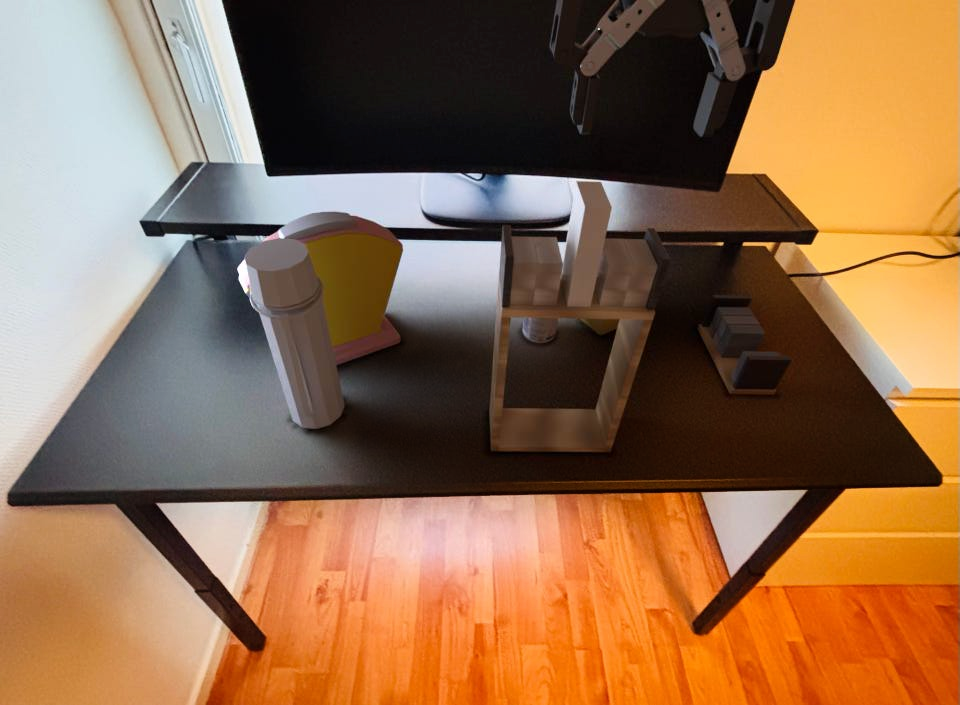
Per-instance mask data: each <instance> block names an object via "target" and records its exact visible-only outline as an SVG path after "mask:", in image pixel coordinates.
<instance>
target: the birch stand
mask: <svg viewBox="0 0 960 705" xmlns="http://www.w3.org/2000/svg"><path fill="white" fill-rule="evenodd" d="M495 310H496V312H495V325H494V340H493V353H492V354H493V355H492V356H493V357H492V370H491V385H490V399H489V436H490V437H489V438H490V439H489V440H490V452H549V453H550V452H551V453H553V452H556V453H559V452H560V453H561V452H562V453H563V452H564V453H565V452H566V453H567V452H568V453H569V452H570V453H611V452H612V448H613V445H614V443H615V439H616V436H617V433H618V430H619V427H620V423H621V420H622V418H623V415H624V411H625V408H626V405H627V402H628V398H629V395H630V393H631V389H632V387H633V383H634V381H635V380H634V379H635V377H636V374H637V370H638V367H639V364H640V361H641V359H642V356H643V353H644V349H645V346H646V342H647V339H648V336H649V334H650V331H651V327H652V324H653V320H654V319H653V320H634V319H620V320H619V324H618V328H617V329H616V332H615V336H614V340H613V343H612V347H611V351H610V354H609V358H608V362H607V365H606V369H605V373H604V377H603V380H602V384H601V388H600V392H599V396H598V399H597V403H596V405H595V406H596V407H595V408H530V407H529V408H527V407H526V408H524V407H523V408H522V407H521V408H519V407H517V408H515V407H513V408H512V407H511V408H510V407H504V398H505V387H506V377H507V376H506V375H507V367H508V366H507V364H508V352H509V342H510V332H511V321H512V317H501V308H500V294H499V280H498V281H497V296H496V309H495Z"/></svg>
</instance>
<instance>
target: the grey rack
mask: <svg viewBox="0 0 960 705" xmlns="http://www.w3.org/2000/svg"><path fill="white" fill-rule="evenodd" d="M751 301H752V296H751V295H746V294H745V295H743V294H742V295H739V294H737V295H735V294H731V295H730V294H712V296H711V299H710V301H709V303H708V306H707V309H706V311H705V314H704V316H703V319H702V321H701V323H699V324H698V327H697V331H698V332H699V335H700V336H701V339H702V341H703V343H704V345H705V347H706V349H707V351H708V353H709V355H710V357H711V359H712V361H713V362H714V365H715V367H716V370H717V371H718V373H719V375H720V377H721V379H722V381H723V383H724V385H725V387H726V389H727V391H728V393H729V395H761V396H762V395H763V396H764V395H767V396H768V395H771V396H774V395H775V394H776V392H777V387H778V385H779V384H780V382H781V380H782V378H784V375H785V373H786V371H787V370H788V368H789V366H790V365H791V364H792V361H793V359H792V357H791V356H790V355H781V354H779V352H778V351H759V350H758V349H759V347H760V346H761V344H762V341H763V340H764V337H765V336H766V331H765V330H764V328H763V327H762V326H761V325H760V322H759V321H758V319H757V318H756V316H755V314H754V313H753V311H752V310H751V308H750V307H749V305H750V303H751Z"/></svg>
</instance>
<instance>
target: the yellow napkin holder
mask: <svg viewBox="0 0 960 705" xmlns="http://www.w3.org/2000/svg"><path fill="white" fill-rule="evenodd" d="M278 238H284V239H295V240H297V241H299V242H302V243H304V244H306V247H307V249H308V252H309V255H310V258H311V261H312V264H313V267H314V270H315V273H316V276H317V277H319V278H320V280H321V282H322V283H323V285H324V291H323V296H322V298H323V303H324V308H325V313H326V318H327V323H328V328H329V333H330V337H331V342H332V347H333V352H334V357H335V362H336V366H338V365H341V364H344V363H347V362H349V361H352V360H355V359H358V358H361V357H363V356H366V355H370V354H372V353H374V352H377V351H380V350H383V349H386V348H389V347H392V346H395V345H397V344H400V342H401V335H400V334H399V332H398V331H397V330H396V329H395V327H394V326H393V324H392V323H391V322H390V321H389V320H388V318H387V317H386V311H387V309H388V305H389V302H390V301H389V300H390V298H391V294H392V290H393V287H394V284H395V280H396V276H397V273H398V269H399V267H400V263H401V259H402V256H403V253H404V245H403V243H402V242H401V241H400V240H399V239H398V238H397V237H396V236H395V235H394V233H393V232H392V231H390V229H388V228H387V227H385V226H384V225H381V224H379V223H378V222H375V221H373V220H371V219H367V218H364V217H361V216H358V215H351V214H350V213H348V212H345V211H344V212H343V211H319V212H312V213H308V214H306V215H303V216H300V217H298V218H296V219H293V220H292V221H289V222H288V223H286V224H285V225H283V226H282V227H280V228H279V229H278V230H277V231H275V232H274V233H272V234H270V235H269V236H267V237H266V238H264V239H263V240H262V241H261V242H263V241H267V240H273V239H278ZM237 272H238V274H239V275H238V281H239V283H240V286H241V287H242V289H243V291H244V293H245V295H246V296H247V297H248V298H249V299H250V291H251V289H250V284H249V279H248V274H247V268H246V263H245V258H244V259H243V260H242V262H241V263H240V264H239V265H238V266H237ZM320 291H321V290H320ZM253 301H254V303H255V300H253ZM255 305H256V306H257V304H256V303H255Z"/></svg>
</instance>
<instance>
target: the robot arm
mask: <svg viewBox="0 0 960 705" xmlns="http://www.w3.org/2000/svg"><path fill="white" fill-rule="evenodd" d="M733 1H734V0H615V1H614V3H612V5H611V6H610V7H609V8H608V10H607V11H606V12H605V13H604V15H603V16H602V17H601V18H600V20H599V21H598V23H597V25H596V27H595V29H594V30H593V31H592V32H591V33H590V35H589V36H588V37H587V38H586V40H585V41H584V42H583V43H582V44H580V43H578V42H576V40H577V36H578V30H579V25H580V19H581V15H582V10H583V5H584V4H583V3H584V0H556V3H555V10H554V15H553V22H552V28H551V34H550V35H551V36H550V40H549V50H550V52H551V54H552V55H553V59H554V61H555V62H556V63H557V64H558V65H561V66H566V67H569V68H571V69H572V70H574V76H573V77H574V78H573V84H572V91H571V99H570V105H569V114H570V117H571V120H572V123H573V125H574V126H576V127H577V130H578V133H579V134H580V135H591V134H592V130H593V126H594V120H595V114H596V107H597V104H598V103H597V102H598V98H599V90H600V89H599V88H600V84H601V77H600V75H599V74H598V72H599V70H600V69H601V68H602V67H603V66H604V65H605V63H607V61H608V60H610V58H611V57H612V56H613V54H614V53H615V52H616V51H619V50H620V49H621V48H623V47H624V46H625V45H626V43H627V42H628V41H629V40H631V38H632V37H633V35H634V34H635V33H639V34H641V35H642V36H643V37H645V38H660V37H663V36H669V35H672V36H675V37H677V38H681V39H695V38H696V36H697V35H700V38H701V40H702V41H703V43H704V44H705V46H706V49H707V51H708V55H709V57H710V61H711V62H712V66H713V68H714V70H713V71H712V72H707V75H706V80H705V83H704V87H703V90H702V93H701V97H700V100H699V104H698V107H697V110H696V114H695V117H694V121H693V131H695V133H696V134H697V135H698V136H699V137H700V138H712V137H713V135H714V133H715V130H716V129H717V130H719V129H721V127H722V126H723V124H724V123H725V122H726V118H727V116H728V113H729V110H730V106H731V104H732V101H733V98H734V95H735V92H736V89H737V86H738V84H739V81H740V80H741V79H742V78H743V77H744V76H746V75H748V74H750V73H754V72H757V71H762V72H766V71H770V69H772V68H773V67H774V66H775V64H776V63H777V60H778V57H779V54H780V52H781V48H782V44H783V41H784V38H785V35H786V32H787V29H788V26H789V22H790V20H791V16H792V13H793V9H794V7H795V3H796V0H756V3H755V7H754V10H753V15H752V19H751V22H750V26H749V28H748V33H747V36H746V40H745V44H744V47H740V45H739V42H738V40H739V35H738V32H737V30H736V26H735V23H734V20H733V17H732V13H731V11H730V8H729V6H730V5H731V4H732V3H733Z"/></svg>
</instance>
